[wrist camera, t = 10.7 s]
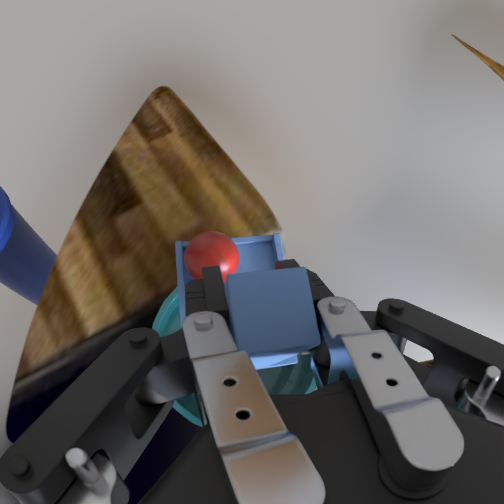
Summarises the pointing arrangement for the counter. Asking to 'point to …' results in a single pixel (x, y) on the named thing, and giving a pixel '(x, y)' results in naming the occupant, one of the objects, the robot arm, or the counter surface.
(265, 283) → the blue base with post
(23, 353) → the counter surface
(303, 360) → the teal ribbed bowl
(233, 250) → the bead
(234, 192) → the counter surface
